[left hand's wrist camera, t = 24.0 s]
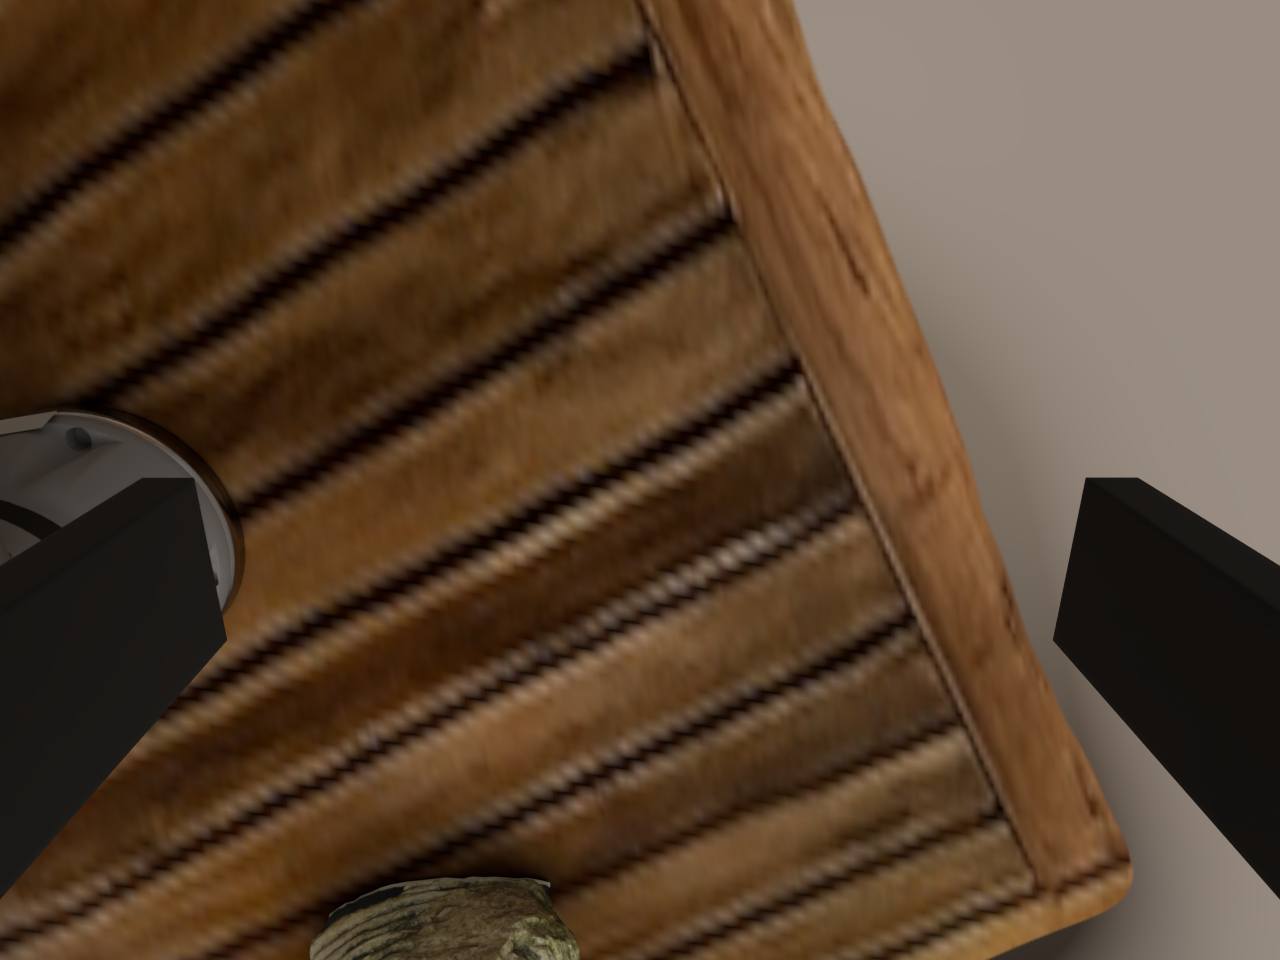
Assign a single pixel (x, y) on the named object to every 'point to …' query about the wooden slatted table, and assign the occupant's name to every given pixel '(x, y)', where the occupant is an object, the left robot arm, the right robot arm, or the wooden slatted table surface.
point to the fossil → (449, 923)
